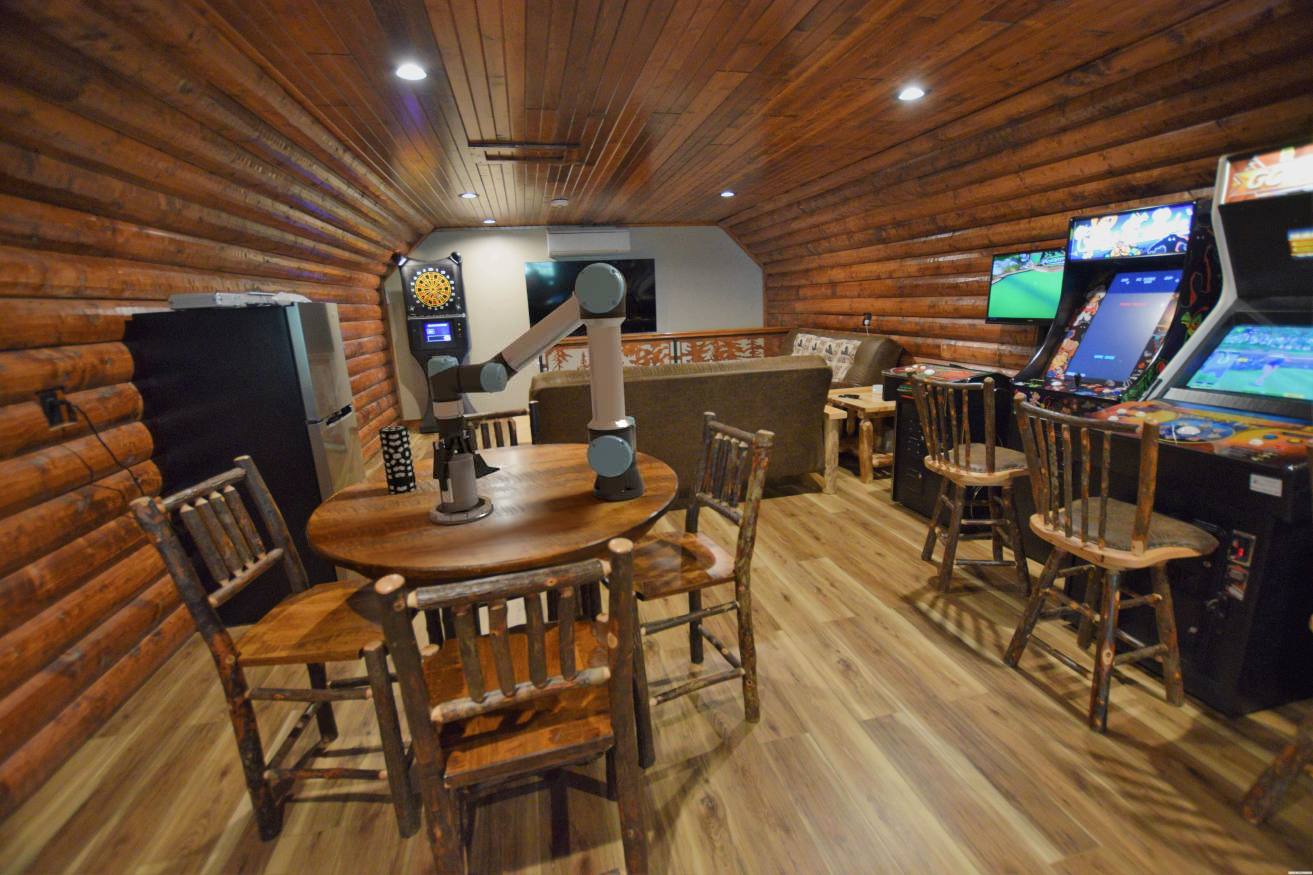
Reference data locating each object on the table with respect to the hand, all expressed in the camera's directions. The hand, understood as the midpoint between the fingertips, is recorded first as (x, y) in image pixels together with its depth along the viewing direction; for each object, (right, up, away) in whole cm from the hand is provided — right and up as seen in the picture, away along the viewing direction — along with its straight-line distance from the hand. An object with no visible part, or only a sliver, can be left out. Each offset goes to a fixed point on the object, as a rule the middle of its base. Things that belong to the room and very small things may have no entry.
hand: (459, 495), depth 159 cm
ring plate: (0, -5, +1) cm, 5 cm away
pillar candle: (0, -3, +1) cm, 3 cm away
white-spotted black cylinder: (-26, -1, +24) cm, 36 cm away
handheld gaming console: (-7, +3, +39) cm, 40 cm away
